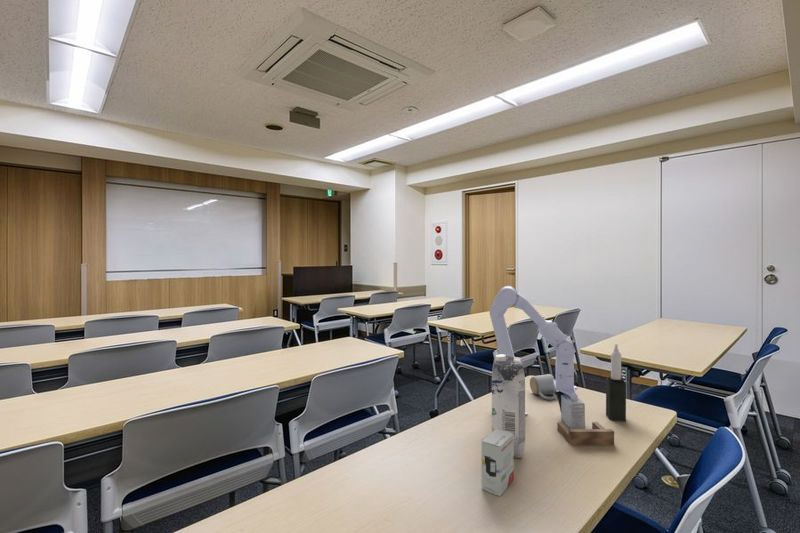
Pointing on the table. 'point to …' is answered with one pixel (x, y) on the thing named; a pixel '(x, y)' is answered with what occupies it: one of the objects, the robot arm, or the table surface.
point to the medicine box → (572, 412)
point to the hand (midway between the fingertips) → (564, 413)
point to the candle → (616, 390)
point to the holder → (587, 435)
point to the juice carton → (509, 399)
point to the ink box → (497, 461)
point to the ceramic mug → (543, 386)
